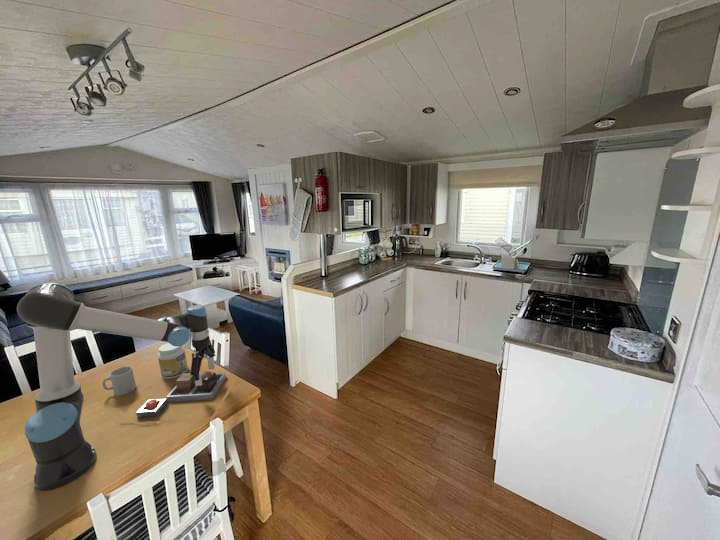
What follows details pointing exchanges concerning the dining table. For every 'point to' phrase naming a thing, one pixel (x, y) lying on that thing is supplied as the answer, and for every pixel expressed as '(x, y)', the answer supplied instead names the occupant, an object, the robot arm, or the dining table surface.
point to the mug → (121, 381)
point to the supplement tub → (172, 361)
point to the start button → (151, 404)
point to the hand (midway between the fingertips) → (205, 376)
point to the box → (208, 381)
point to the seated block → (185, 383)
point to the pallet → (196, 391)
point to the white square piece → (145, 412)
